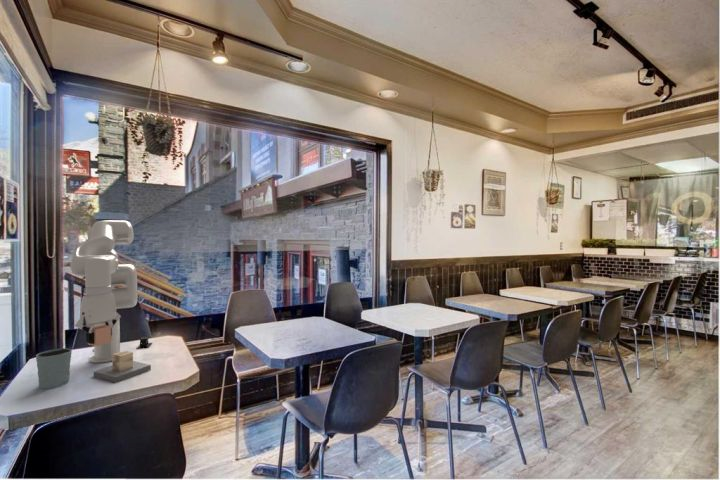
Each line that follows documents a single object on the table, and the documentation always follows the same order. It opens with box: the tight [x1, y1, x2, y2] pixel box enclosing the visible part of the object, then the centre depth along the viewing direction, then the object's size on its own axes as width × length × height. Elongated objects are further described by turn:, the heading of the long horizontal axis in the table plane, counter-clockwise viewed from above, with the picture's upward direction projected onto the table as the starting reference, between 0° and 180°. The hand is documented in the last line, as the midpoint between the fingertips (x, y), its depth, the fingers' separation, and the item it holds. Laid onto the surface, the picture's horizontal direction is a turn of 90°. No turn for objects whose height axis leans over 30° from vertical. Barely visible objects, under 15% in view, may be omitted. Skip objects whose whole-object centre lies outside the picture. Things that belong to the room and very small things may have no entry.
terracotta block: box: [87, 324, 111, 347], centre depth 128 cm, size 5×5×6 cm
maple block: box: [111, 350, 134, 371], centre depth 143 cm, size 5×5×6 cm
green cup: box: [35, 347, 73, 390], centre depth 133 cm, size 10×10×12 cm
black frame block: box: [135, 336, 153, 350], centre depth 178 cm, size 12×7×5 cm, turn 20°
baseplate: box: [93, 360, 152, 383], centre depth 143 cm, size 14×14×2 cm
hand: (99, 340), depth 128 cm, fingers closed on terracotta block, 5 cm apart
